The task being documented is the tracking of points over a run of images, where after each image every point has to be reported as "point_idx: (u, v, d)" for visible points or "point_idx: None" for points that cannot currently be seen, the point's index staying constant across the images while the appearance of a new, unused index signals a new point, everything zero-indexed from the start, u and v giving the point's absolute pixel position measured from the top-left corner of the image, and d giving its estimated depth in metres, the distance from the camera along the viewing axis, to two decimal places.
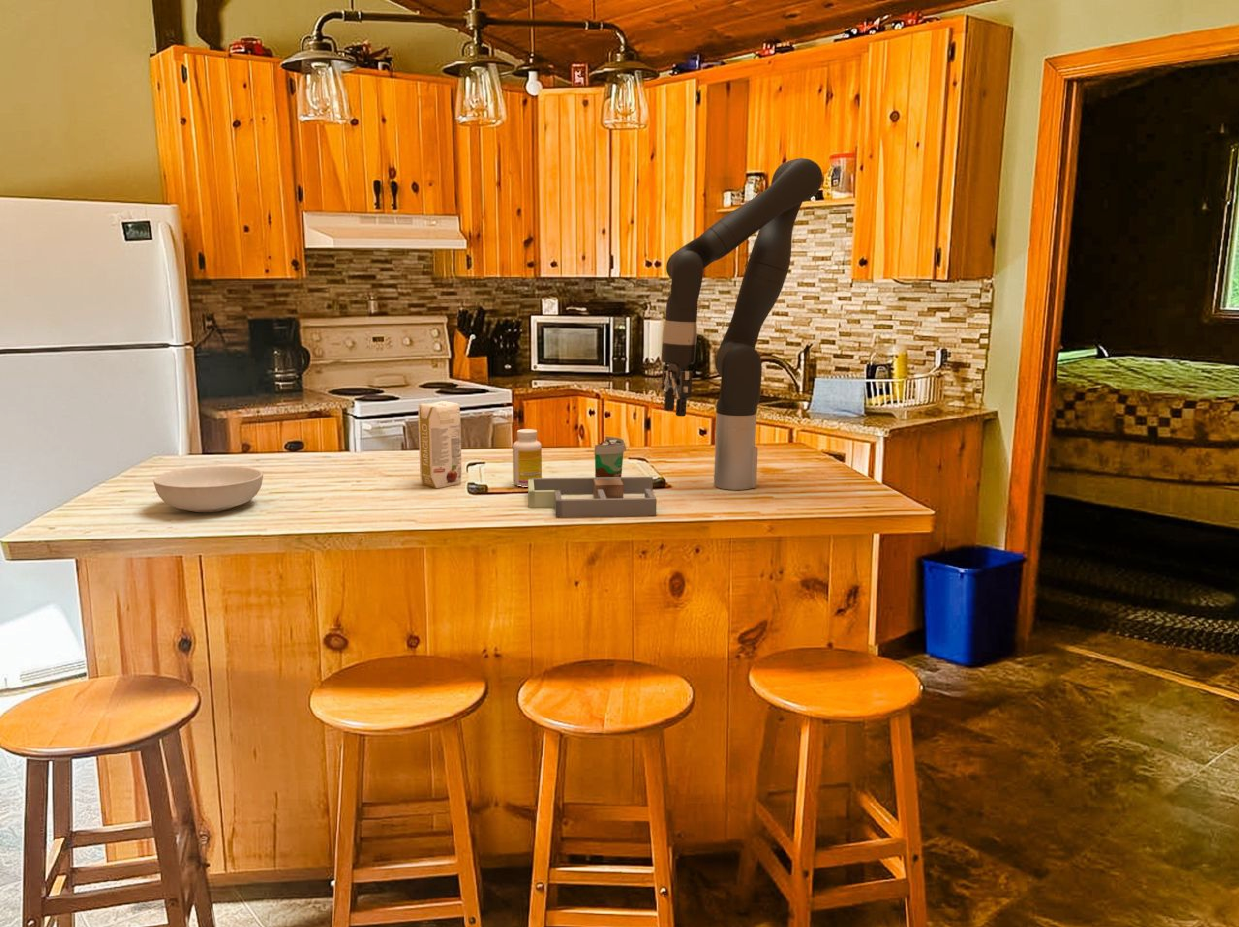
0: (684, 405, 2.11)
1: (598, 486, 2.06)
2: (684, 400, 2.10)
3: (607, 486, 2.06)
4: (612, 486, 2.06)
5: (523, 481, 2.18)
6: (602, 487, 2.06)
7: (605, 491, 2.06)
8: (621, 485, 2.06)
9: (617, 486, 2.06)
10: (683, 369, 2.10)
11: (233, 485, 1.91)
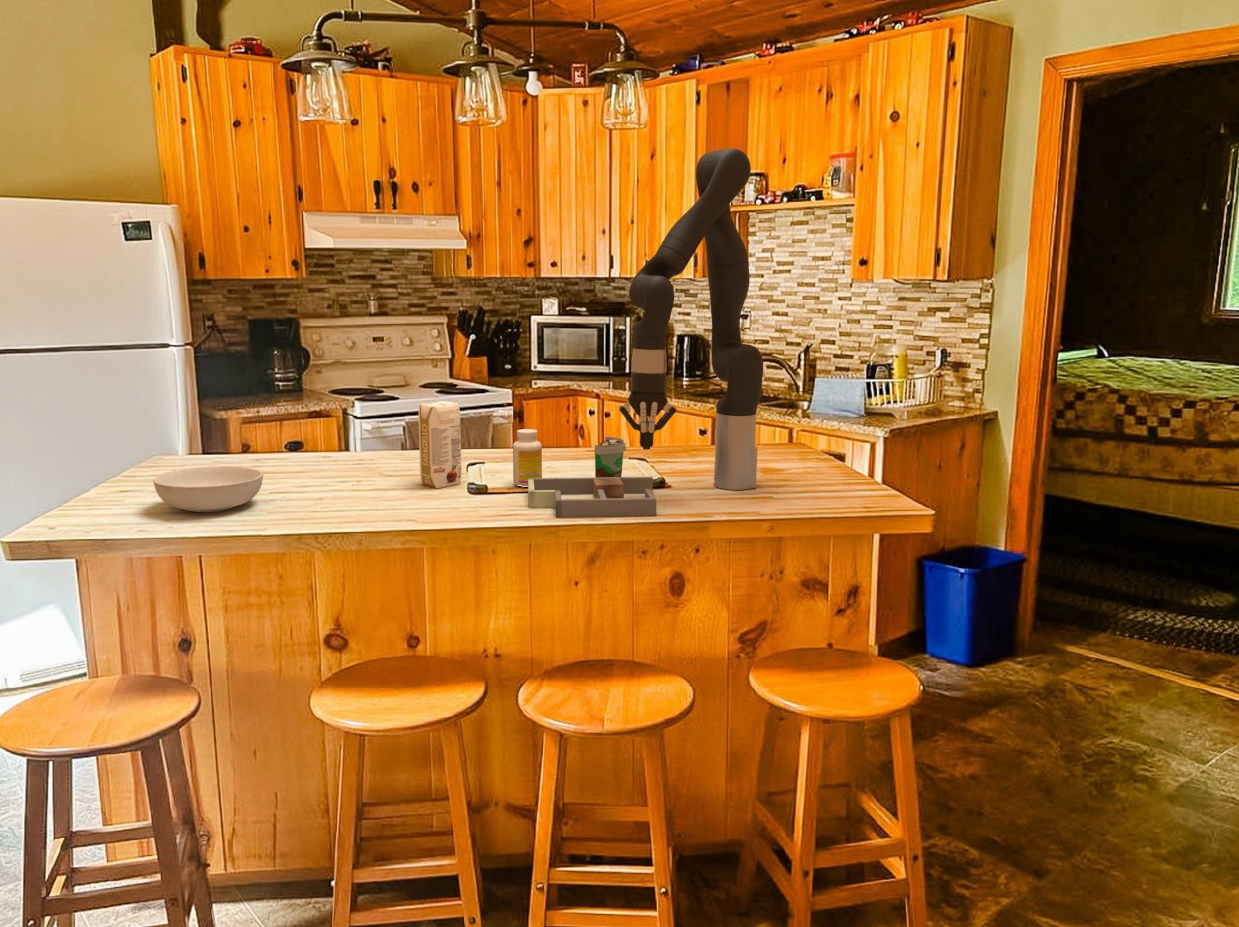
0: None
1: (598, 486, 2.05)
2: None
3: (607, 486, 2.06)
4: (612, 486, 2.06)
5: (523, 481, 2.18)
6: (602, 487, 2.06)
7: (605, 491, 2.06)
8: (621, 485, 2.06)
9: (617, 486, 2.06)
10: None
11: (233, 485, 1.91)
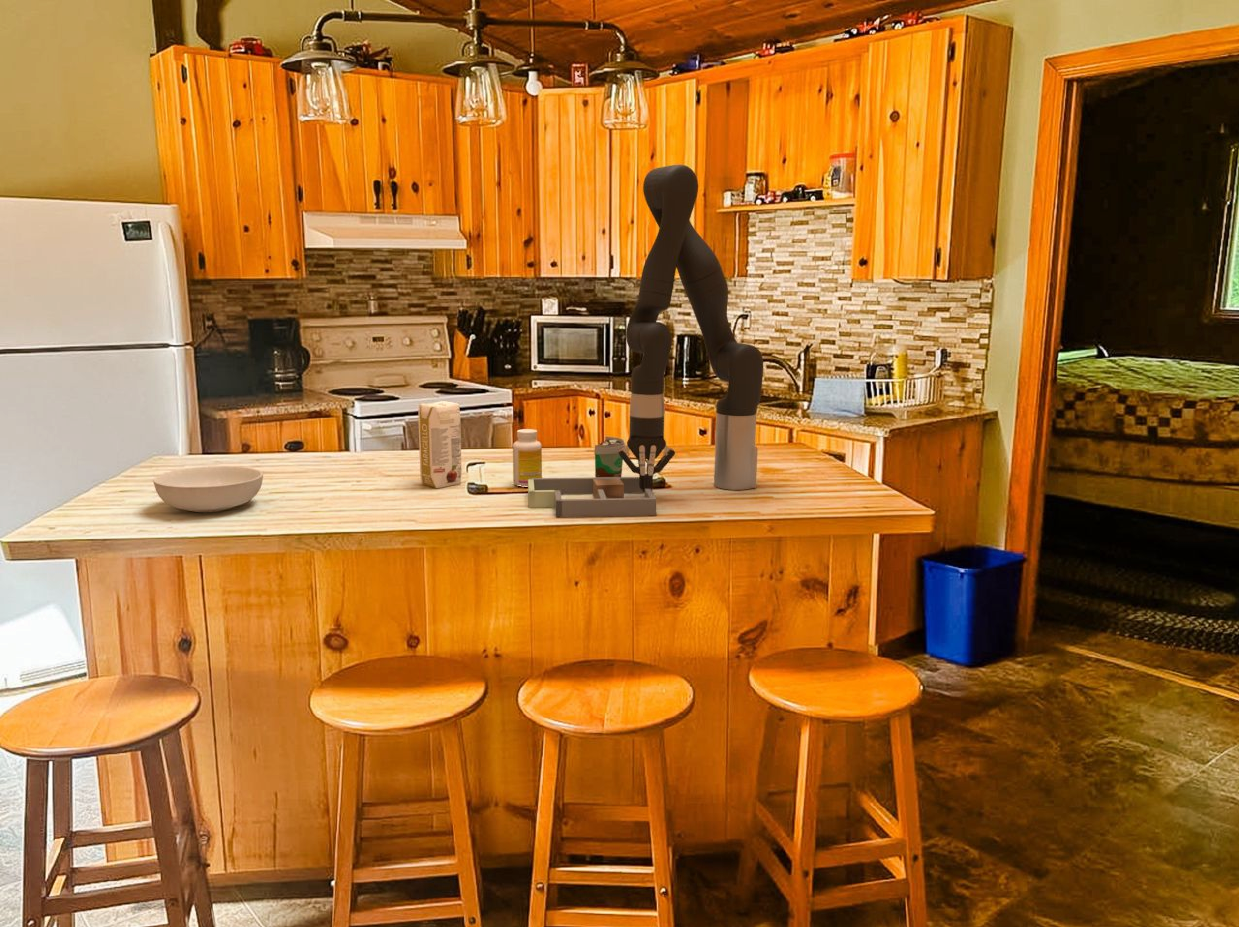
0: None
1: (599, 486, 2.05)
2: None
3: (608, 486, 2.06)
4: (613, 486, 2.06)
5: (523, 481, 2.18)
6: (603, 487, 2.06)
7: (606, 491, 2.06)
8: (622, 485, 2.06)
9: (618, 486, 2.06)
10: None
11: (233, 485, 1.91)
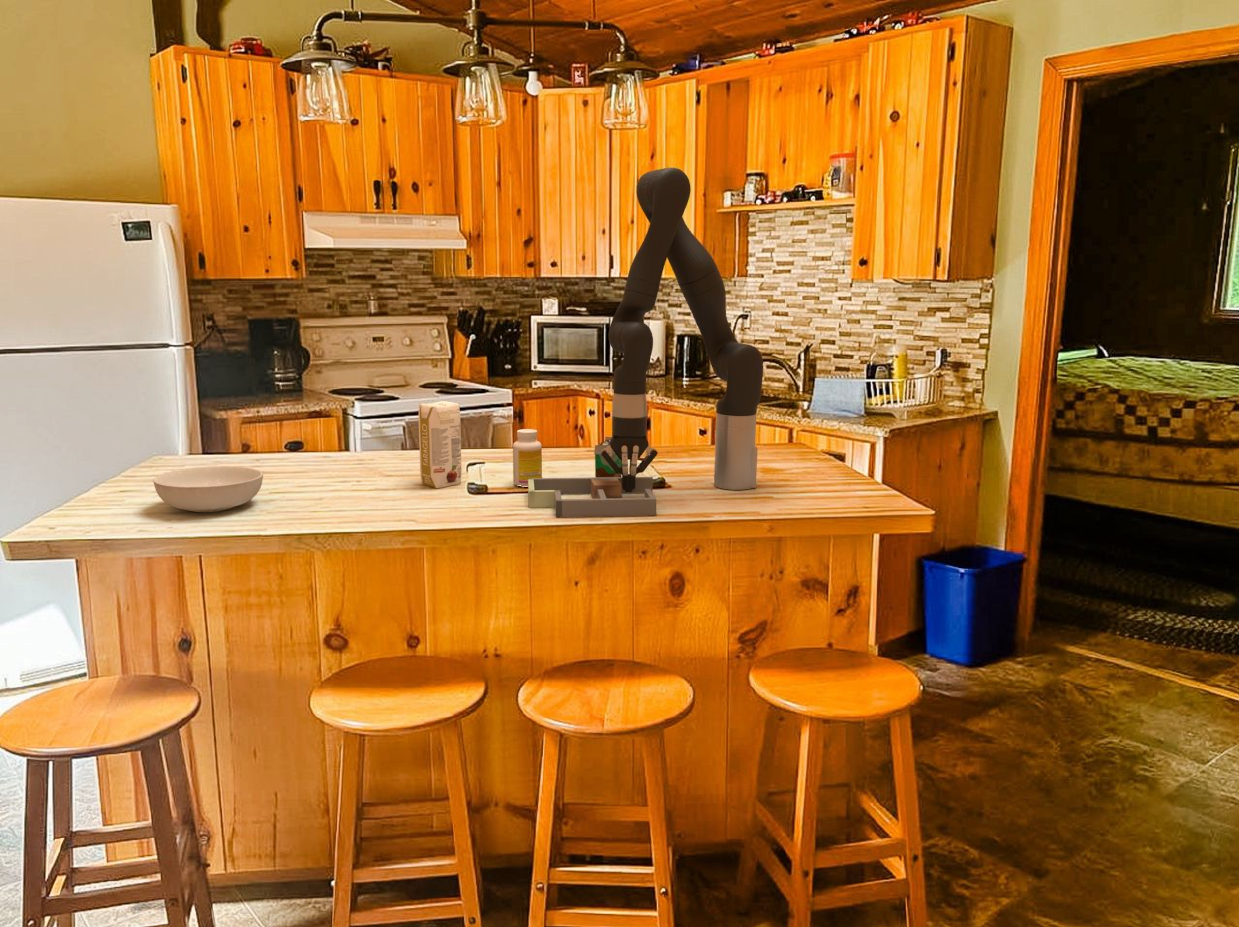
0: None
1: (596, 486, 2.06)
2: None
3: (605, 486, 2.06)
4: (610, 486, 2.06)
5: (523, 481, 2.18)
6: (600, 487, 2.06)
7: None
8: (619, 485, 2.06)
9: (615, 486, 2.06)
10: None
11: (233, 485, 1.91)
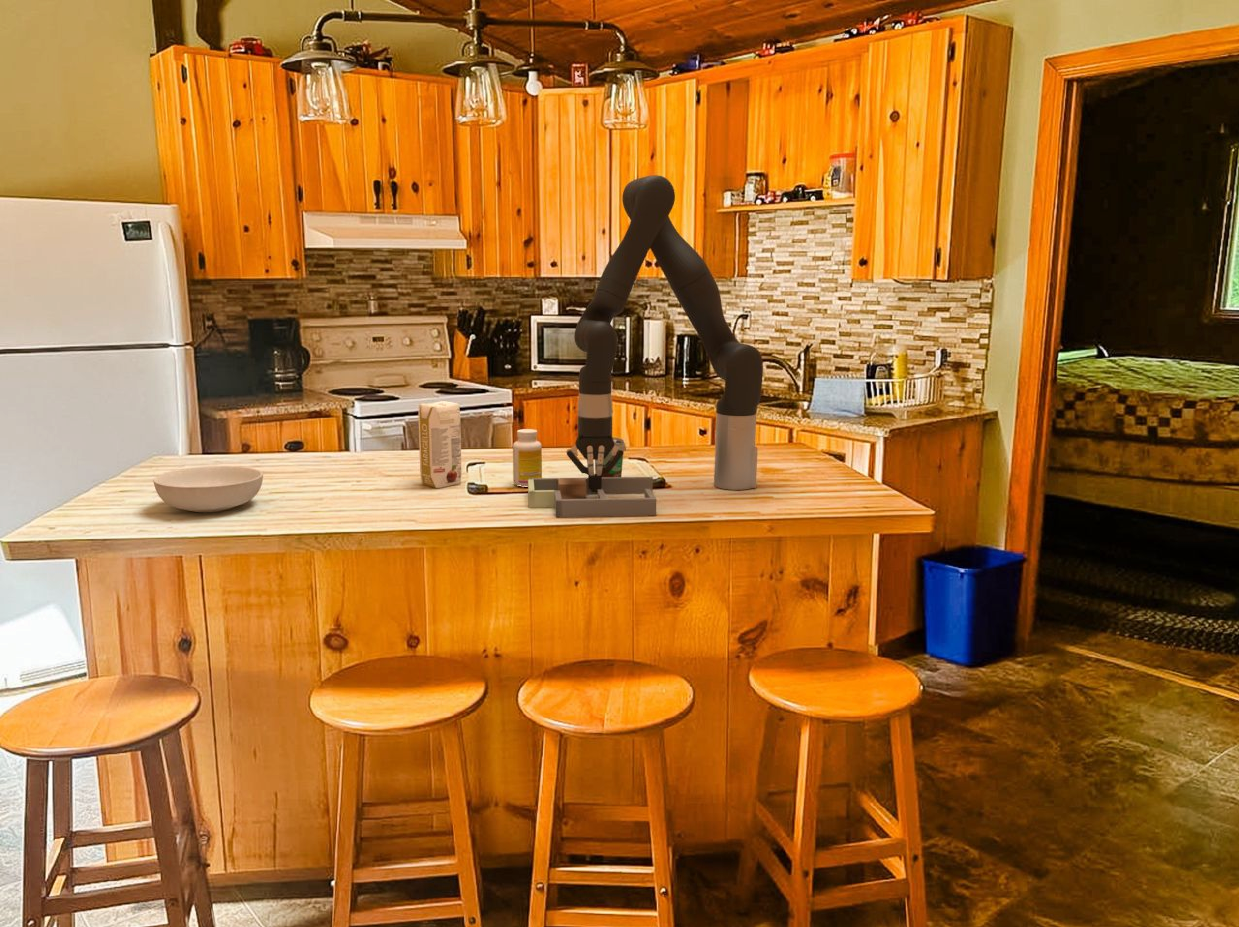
0: None
1: (561, 485, 2.06)
2: None
3: (570, 485, 2.06)
4: (575, 485, 2.06)
5: (523, 481, 2.18)
6: (565, 486, 2.06)
7: (568, 490, 2.06)
8: (584, 484, 2.06)
9: (580, 485, 2.06)
10: None
11: (233, 486, 1.91)
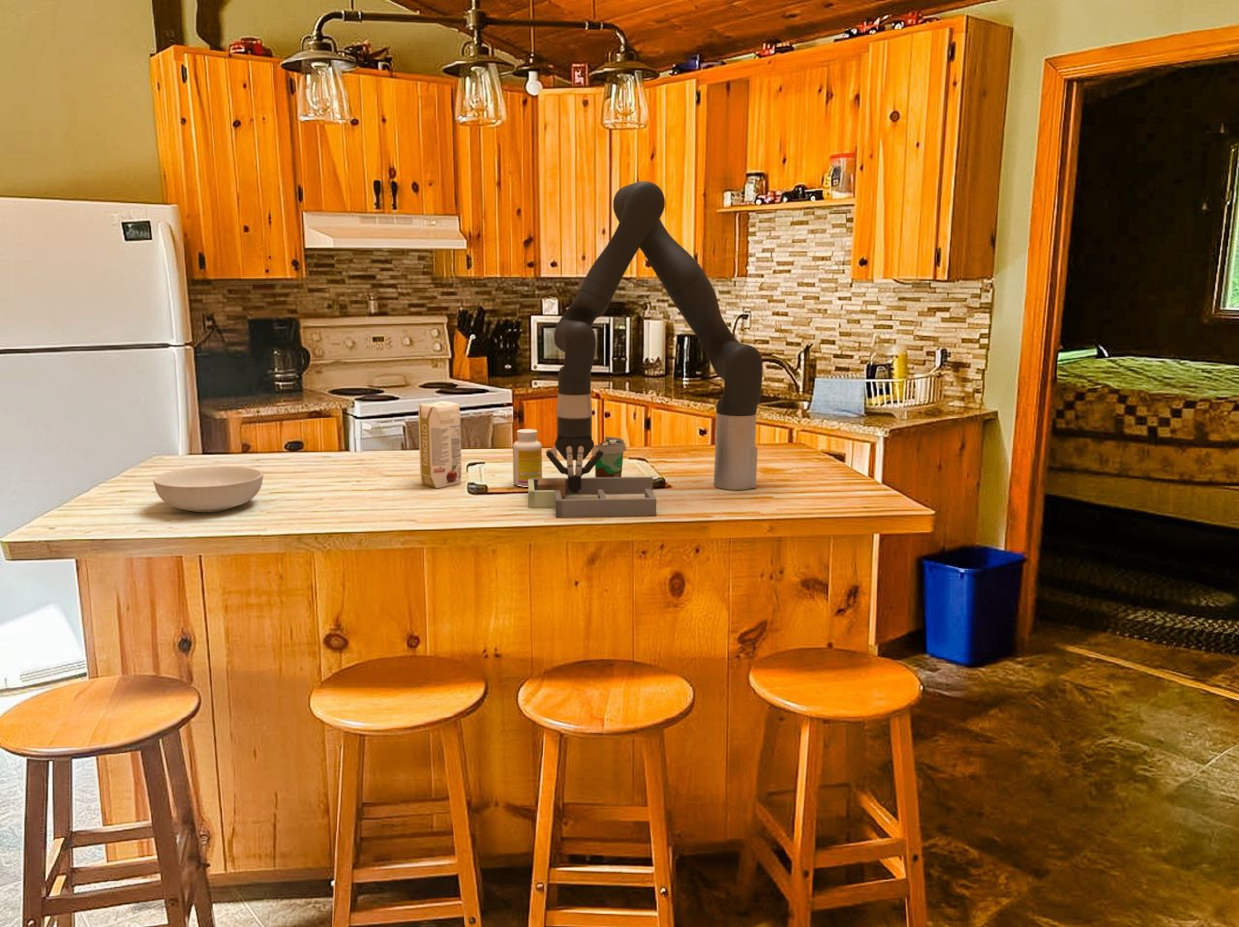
0: None
1: (540, 486, 2.06)
2: None
3: (549, 486, 2.06)
4: (554, 486, 2.06)
5: (523, 481, 2.18)
6: (544, 487, 2.06)
7: None
8: (563, 485, 2.06)
9: (559, 486, 2.06)
10: None
11: (233, 485, 1.91)
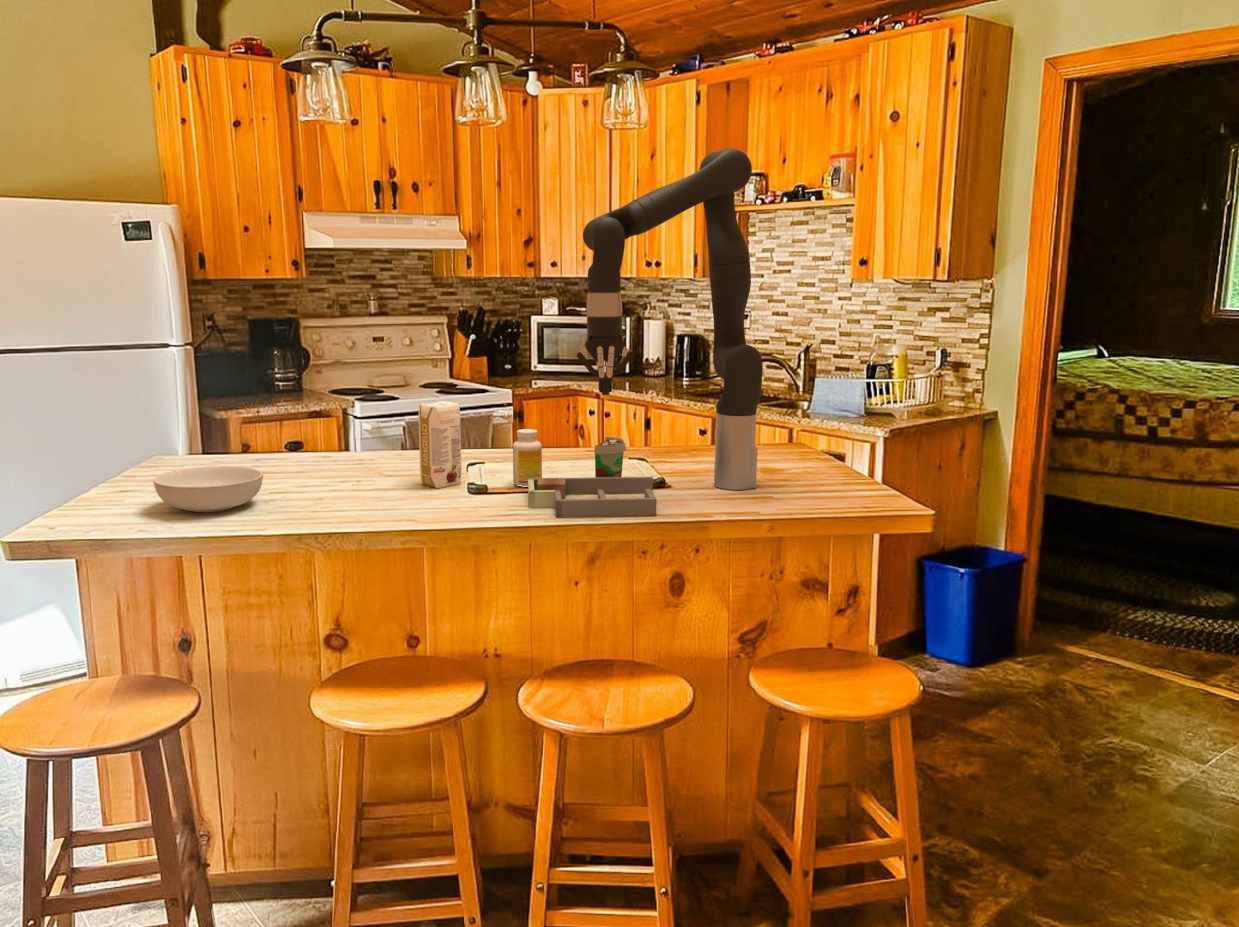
0: None
1: (539, 485, 2.06)
2: None
3: (548, 486, 2.06)
4: (553, 486, 2.06)
5: (523, 481, 2.18)
6: (543, 486, 2.06)
7: None
8: (563, 485, 2.06)
9: (559, 486, 2.06)
10: None
11: (233, 485, 1.91)
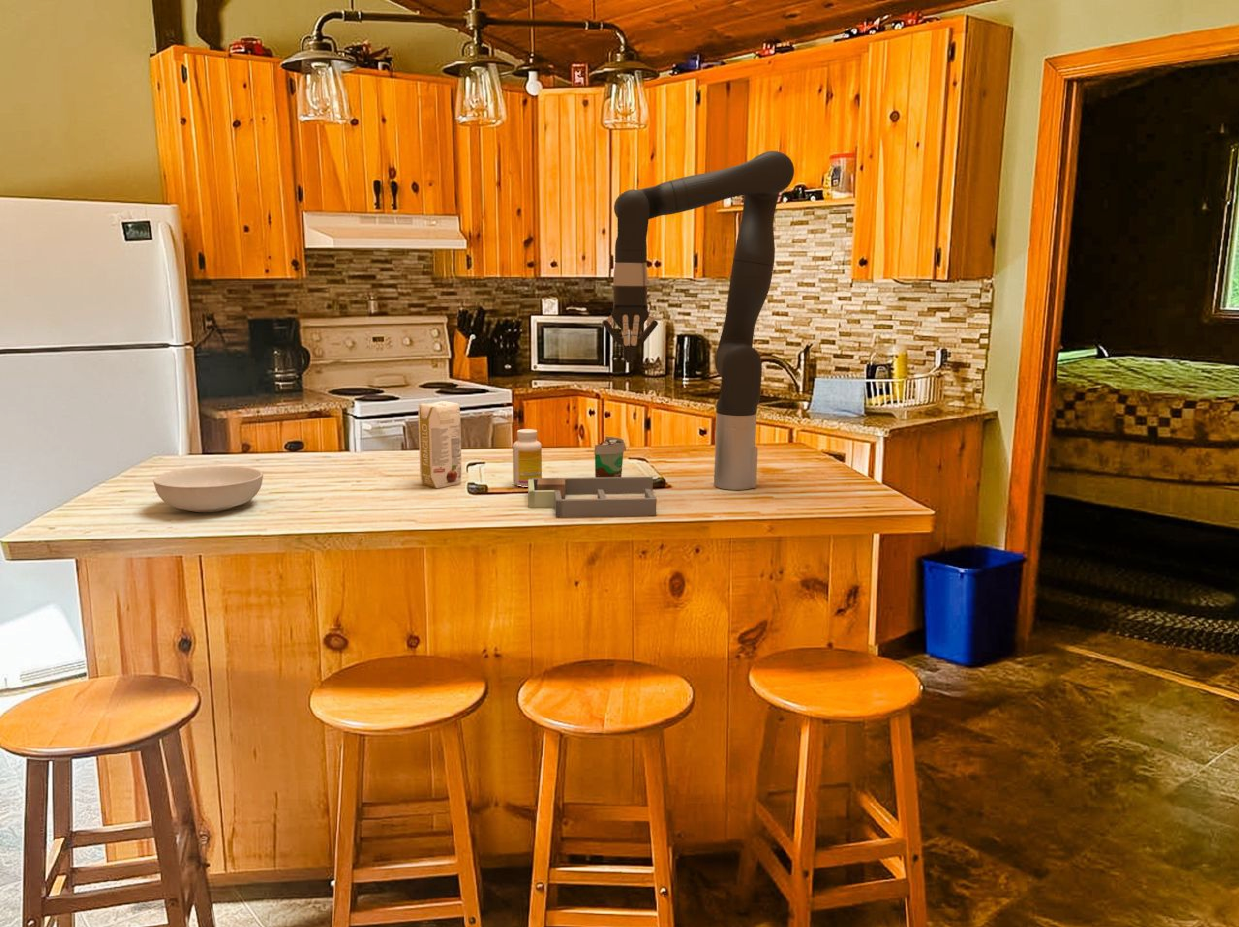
0: None
1: (539, 485, 2.06)
2: None
3: (548, 486, 2.06)
4: (553, 486, 2.06)
5: (523, 481, 2.18)
6: (543, 486, 2.06)
7: None
8: (563, 485, 2.06)
9: (559, 486, 2.06)
10: None
11: (233, 485, 1.91)
